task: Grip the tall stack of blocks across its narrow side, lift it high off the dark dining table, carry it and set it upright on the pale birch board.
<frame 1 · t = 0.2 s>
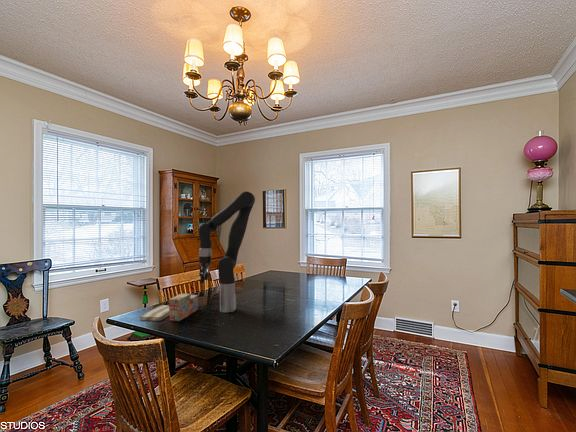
hand: (204, 281, 184), 18 cm above the table, tool pointing down, fingers open, 8 cm apart
stack of blocks: (184, 315, 176), on the table
birch board: (160, 314, 178), on the table
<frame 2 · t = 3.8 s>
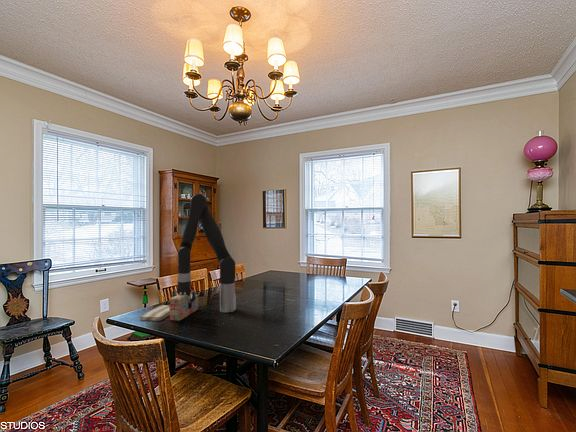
hand: (184, 308, 176), 4 cm above the table, tool pointing down, fingers closed on stack of blocks, 6 cm apart
stack of blocks: (184, 314, 177), on the table, touching gripper
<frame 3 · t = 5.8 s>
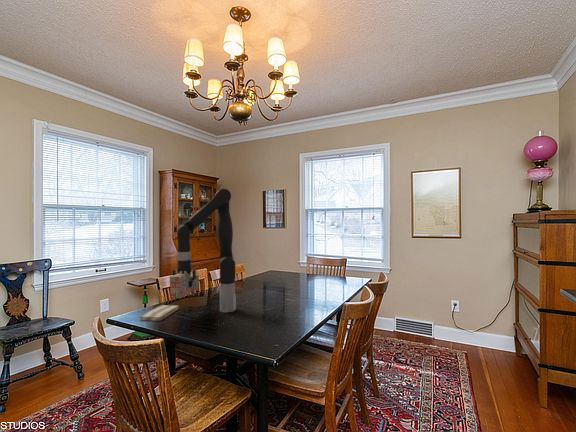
hand: (184, 287, 176), 16 cm above the table, tool pointing down, fingers closed on stack of blocks, 6 cm apart
stack of blocks: (185, 293, 177), point 12 cm above the table, touching gripper
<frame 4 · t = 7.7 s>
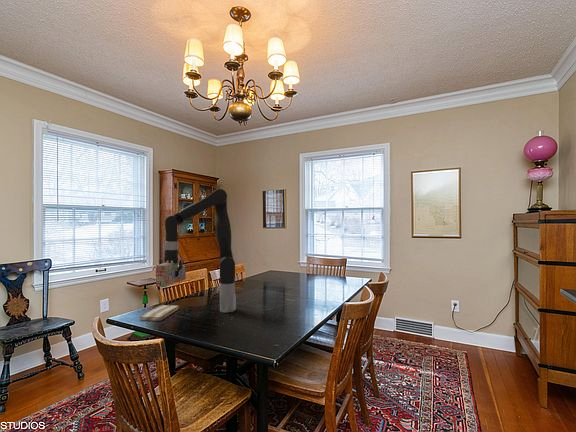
hand: (170, 276, 177), 22 cm above the table, tool pointing down, fingers closed on stack of blocks, 6 cm apart
stack of blocks: (171, 283, 177), point 18 cm above the table, touching gripper
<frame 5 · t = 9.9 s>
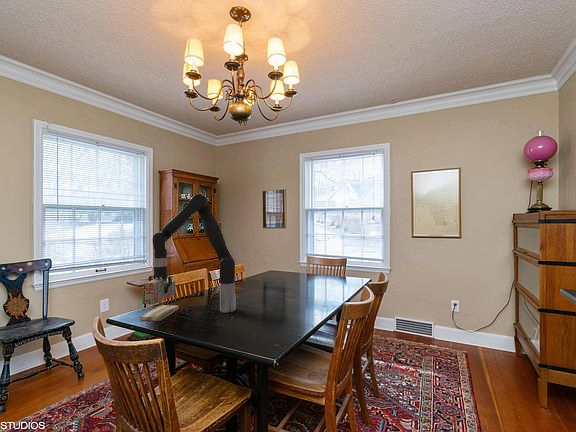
hand: (160, 293, 178), 13 cm above the table, tool pointing down, fingers closed on stack of blocks, 6 cm apart
stack of blocks: (161, 299, 178), point 9 cm above the table, touching gripper
when the fingers open (7 cm above the table, at t = 11.9 s): stack of blocks drops 1 cm, resting on birch board.
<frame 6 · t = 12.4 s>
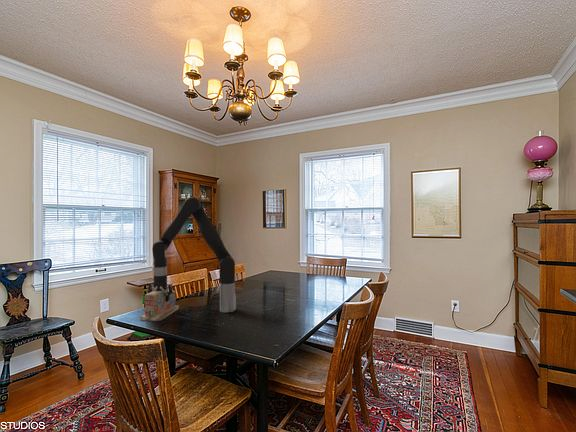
hand: (160, 301, 178), 8 cm above the table, tool pointing down, fingers open, 8 cm apart
stack of blocks: (161, 310, 178), point 2 cm above the table, touching birch board
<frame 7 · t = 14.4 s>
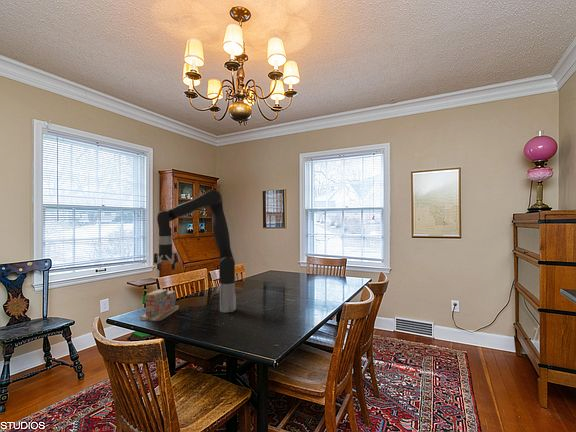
hand: (166, 270, 181), 26 cm above the table, tool pointing down, fingers open, 8 cm apart
nothing on the table moved.
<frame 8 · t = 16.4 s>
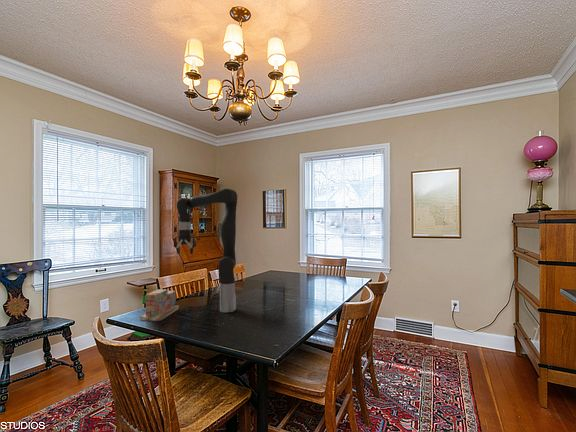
hand: (184, 253, 193), 34 cm above the table, tool pointing down, fingers open, 8 cm apart
nothing on the table moved.
at the end: stack of blocks inside the target area on the birch board (0.7 cm from its centre), point 1.8 cm above the birch board's base; stack of blocks tilted 0°; the gripper is holding nothing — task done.
